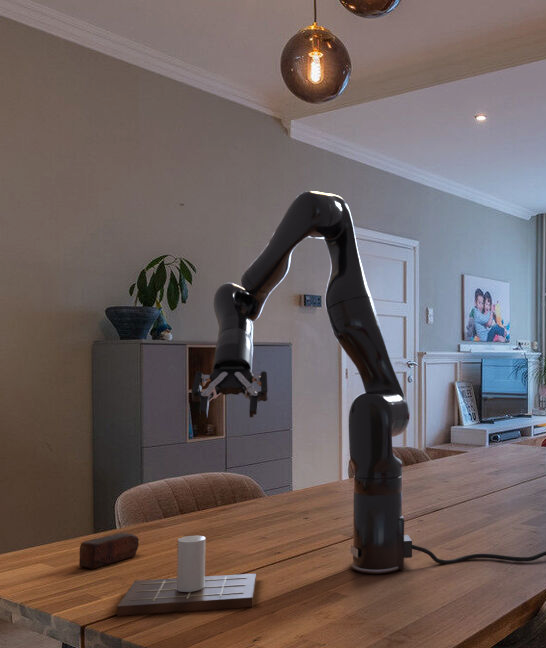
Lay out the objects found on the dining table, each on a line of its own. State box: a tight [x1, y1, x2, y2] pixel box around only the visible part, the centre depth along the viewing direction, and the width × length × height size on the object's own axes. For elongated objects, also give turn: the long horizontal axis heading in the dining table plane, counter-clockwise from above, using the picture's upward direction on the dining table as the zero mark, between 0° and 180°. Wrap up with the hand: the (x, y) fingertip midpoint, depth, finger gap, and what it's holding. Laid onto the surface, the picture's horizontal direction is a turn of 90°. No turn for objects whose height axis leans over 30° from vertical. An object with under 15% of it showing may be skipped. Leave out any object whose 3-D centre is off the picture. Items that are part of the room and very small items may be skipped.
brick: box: [78, 532, 140, 570], centre depth 140 cm, size 11×4×5 cm, turn 157°
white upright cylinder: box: [176, 535, 207, 592], centre depth 120 cm, size 4×4×8 cm
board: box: [116, 573, 257, 617], centre depth 119 cm, size 20×13×2 cm, turn 102°
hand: (228, 414), depth 139 cm, fingers open, 8 cm apart
